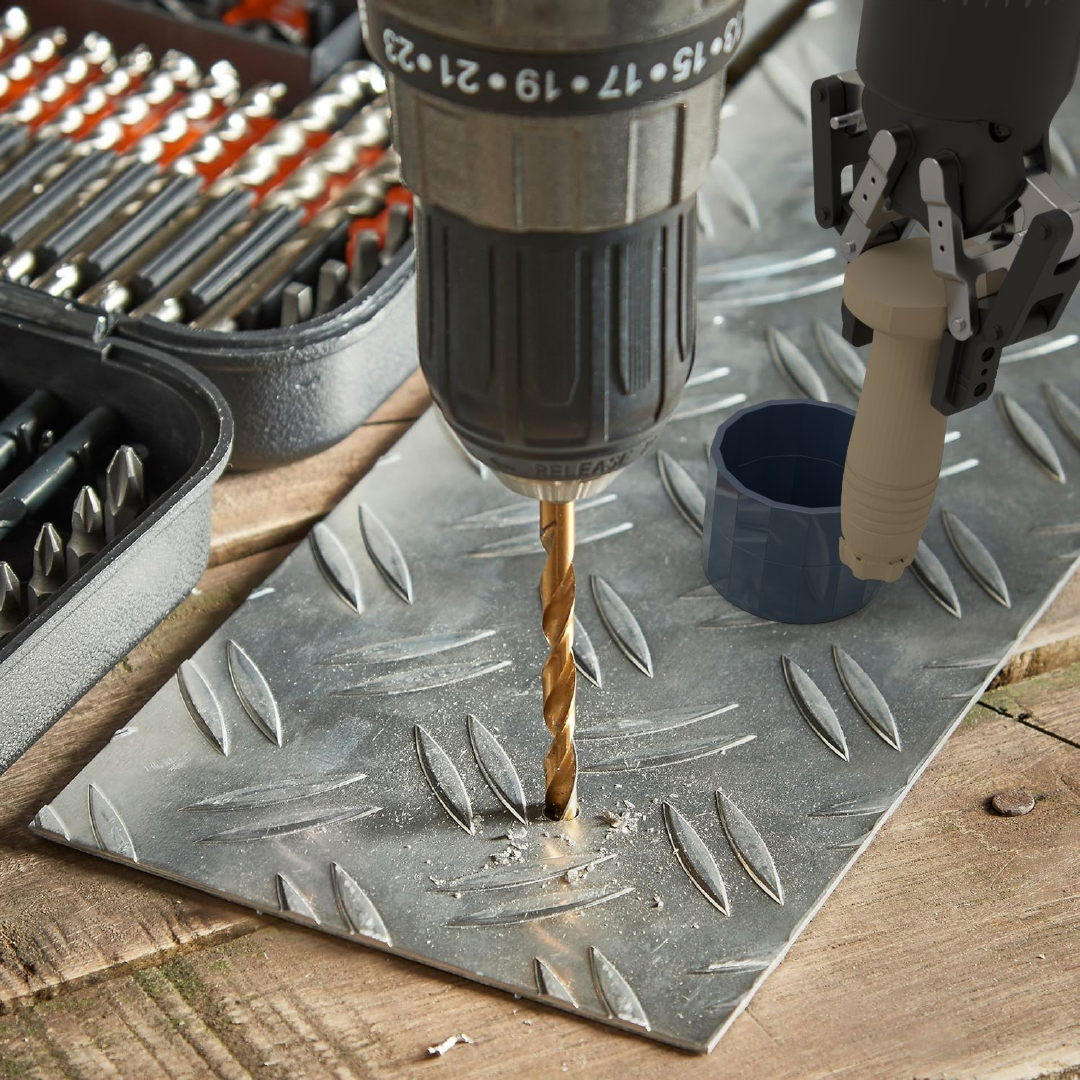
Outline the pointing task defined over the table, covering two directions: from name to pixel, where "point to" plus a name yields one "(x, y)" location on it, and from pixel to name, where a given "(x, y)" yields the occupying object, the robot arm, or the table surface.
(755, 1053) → the table surface
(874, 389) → the handle
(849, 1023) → the table surface
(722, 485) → the pot
